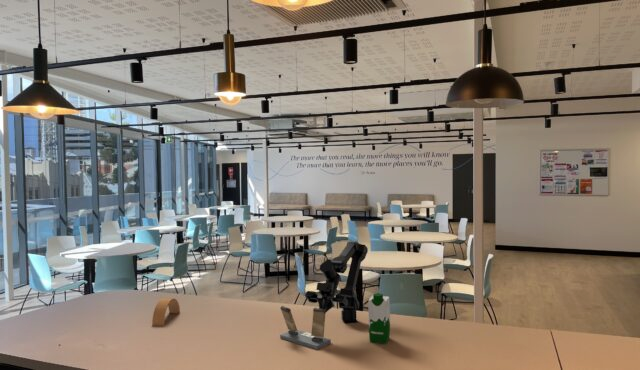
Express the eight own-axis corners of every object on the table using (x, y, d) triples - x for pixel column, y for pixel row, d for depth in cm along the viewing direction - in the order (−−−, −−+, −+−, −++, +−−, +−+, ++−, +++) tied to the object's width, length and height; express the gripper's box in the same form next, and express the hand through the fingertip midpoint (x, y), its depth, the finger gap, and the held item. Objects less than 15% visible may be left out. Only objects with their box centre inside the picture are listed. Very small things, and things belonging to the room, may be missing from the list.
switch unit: (294, 332, 201) (294, 326, 201) (330, 343, 188) (330, 337, 187) (280, 338, 194) (280, 332, 194) (317, 349, 181) (316, 343, 181)
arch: (180, 312, 233) (180, 293, 233) (163, 325, 214) (162, 305, 213) (169, 312, 234) (169, 293, 234) (151, 325, 214) (151, 305, 214)
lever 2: (312, 335, 189) (315, 307, 191) (323, 337, 186) (326, 309, 188) (310, 335, 187) (313, 307, 189) (321, 337, 185) (324, 309, 187)
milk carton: (367, 342, 187) (366, 295, 187) (371, 335, 196) (371, 289, 195) (388, 344, 184) (387, 296, 184) (391, 337, 193) (391, 291, 192)
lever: (290, 327, 198) (283, 305, 195) (297, 330, 193) (289, 307, 191) (287, 329, 196) (279, 307, 194) (294, 332, 192) (286, 310, 190)
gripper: (306, 272, 198) (294, 304, 188) (344, 276, 189) (333, 309, 179) (315, 286, 205) (303, 317, 195) (352, 290, 196) (342, 323, 187)
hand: (320, 316), depth 189 cm, fingers closed, pressing on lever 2
